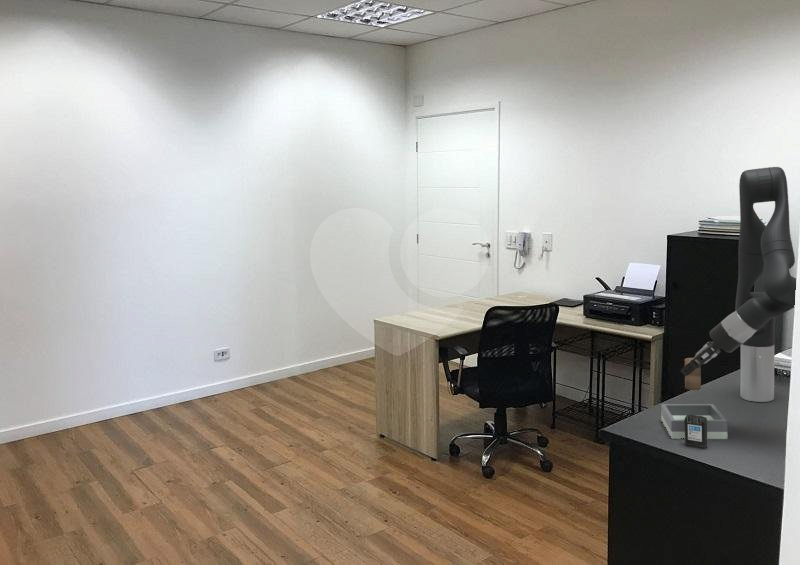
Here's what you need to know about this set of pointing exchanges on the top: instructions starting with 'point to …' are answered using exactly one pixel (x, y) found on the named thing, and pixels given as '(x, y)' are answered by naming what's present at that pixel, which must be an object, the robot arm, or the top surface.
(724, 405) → the top surface
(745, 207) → the robot arm
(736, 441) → the top surface
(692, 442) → the ink cartridge
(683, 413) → the socket box
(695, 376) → the peg
